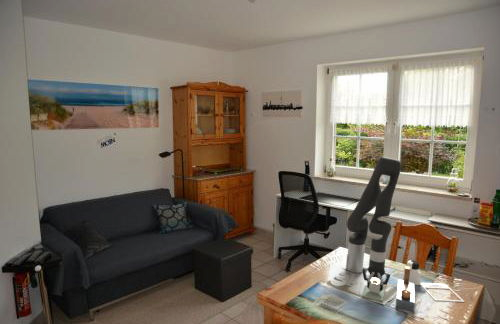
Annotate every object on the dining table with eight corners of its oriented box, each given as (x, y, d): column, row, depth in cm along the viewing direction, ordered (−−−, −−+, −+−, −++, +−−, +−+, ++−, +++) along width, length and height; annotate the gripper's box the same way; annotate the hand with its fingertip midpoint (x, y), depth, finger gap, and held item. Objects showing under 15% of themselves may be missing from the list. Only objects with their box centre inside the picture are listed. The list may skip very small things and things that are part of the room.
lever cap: (379, 293, 174) (380, 284, 174) (368, 291, 176) (369, 282, 176) (380, 286, 182) (381, 277, 181) (370, 284, 184) (371, 275, 183)
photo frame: (445, 283, 192) (464, 300, 174) (445, 285, 192) (464, 303, 174) (418, 282, 192) (435, 299, 175) (418, 284, 193) (434, 301, 175)
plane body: (413, 312, 164) (416, 286, 162) (395, 308, 167) (398, 282, 165) (413, 291, 183) (416, 268, 181) (397, 287, 187) (399, 265, 185)
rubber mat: (361, 296, 176) (362, 295, 176) (364, 286, 187) (364, 284, 187) (382, 301, 172) (382, 300, 172) (384, 290, 183) (384, 289, 183)
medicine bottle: (415, 279, 197) (417, 259, 195) (420, 285, 190) (422, 265, 188) (402, 278, 198) (404, 258, 196) (407, 284, 191) (409, 264, 189)
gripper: (361, 258, 176) (359, 289, 179) (392, 264, 170) (389, 296, 173) (363, 253, 183) (361, 283, 185) (392, 258, 177) (389, 289, 180)
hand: (374, 289), depth 179 cm, fingers closed on lever cap, 5 cm apart
